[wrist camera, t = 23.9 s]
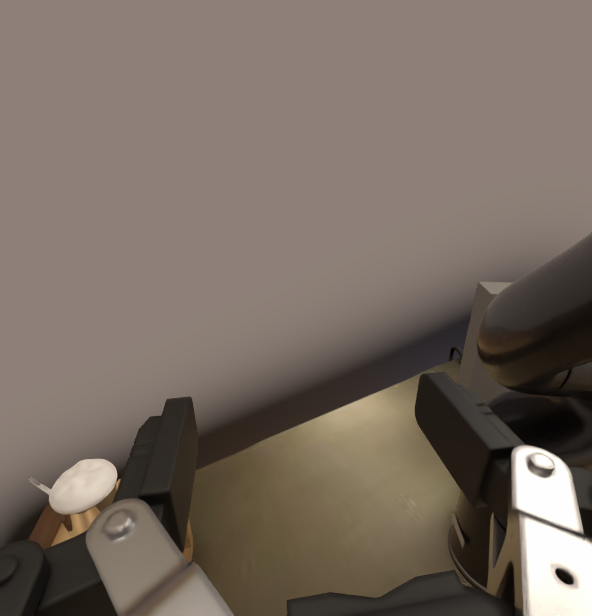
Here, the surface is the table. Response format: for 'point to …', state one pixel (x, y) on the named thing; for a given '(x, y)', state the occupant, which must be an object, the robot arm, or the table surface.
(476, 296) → the cassette tape recorder
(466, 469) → the robot arm
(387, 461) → the table surface
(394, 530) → the table surface
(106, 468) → the milkshake
